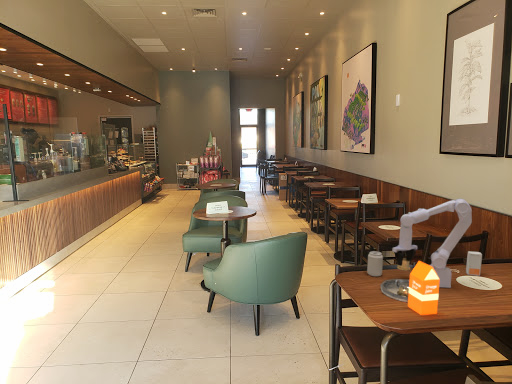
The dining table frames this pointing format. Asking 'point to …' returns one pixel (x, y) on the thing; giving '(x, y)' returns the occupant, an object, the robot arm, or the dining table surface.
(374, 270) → the can
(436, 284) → the orange juice
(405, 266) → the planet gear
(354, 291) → the dining table surface
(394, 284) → the carrier
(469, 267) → the skincare box
